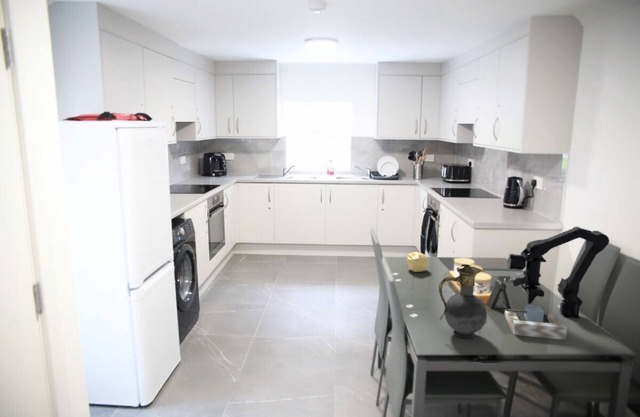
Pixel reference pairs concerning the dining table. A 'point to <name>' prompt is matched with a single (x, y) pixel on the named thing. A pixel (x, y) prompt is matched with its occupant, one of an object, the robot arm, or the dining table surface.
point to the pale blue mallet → (531, 313)
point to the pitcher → (464, 304)
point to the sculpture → (417, 262)
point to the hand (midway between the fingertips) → (529, 303)
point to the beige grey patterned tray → (536, 327)
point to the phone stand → (494, 296)
